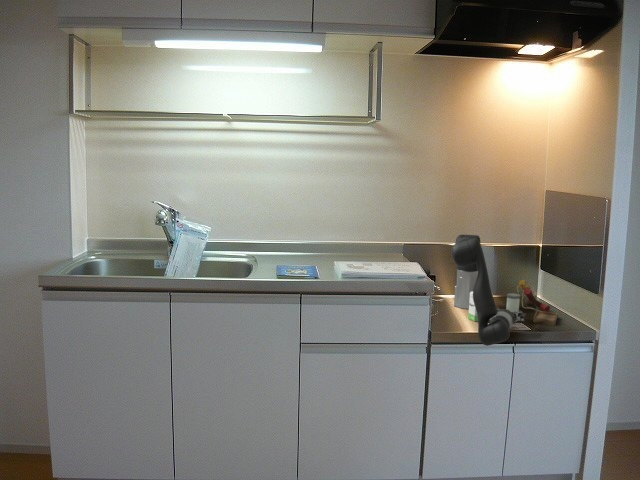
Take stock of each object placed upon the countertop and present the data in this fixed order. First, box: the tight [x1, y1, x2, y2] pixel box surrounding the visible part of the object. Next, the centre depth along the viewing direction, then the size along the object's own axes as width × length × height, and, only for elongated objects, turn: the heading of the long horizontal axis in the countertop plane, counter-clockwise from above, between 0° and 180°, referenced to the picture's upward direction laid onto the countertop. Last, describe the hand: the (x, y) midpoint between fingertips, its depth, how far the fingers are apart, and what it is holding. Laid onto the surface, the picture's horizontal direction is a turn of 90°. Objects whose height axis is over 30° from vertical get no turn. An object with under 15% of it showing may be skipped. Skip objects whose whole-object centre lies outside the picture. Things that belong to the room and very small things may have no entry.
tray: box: [532, 309, 559, 326], centre depth 228 cm, size 8×12×2 cm
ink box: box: [468, 292, 494, 322], centre depth 227 cm, size 9×5×12 cm, turn 108°
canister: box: [505, 292, 521, 323], centre depth 227 cm, size 5×5×11 cm
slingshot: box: [516, 279, 551, 312], centre depth 246 cm, size 17×10×15 cm
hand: (509, 310), depth 219 cm, fingers open, 8 cm apart
